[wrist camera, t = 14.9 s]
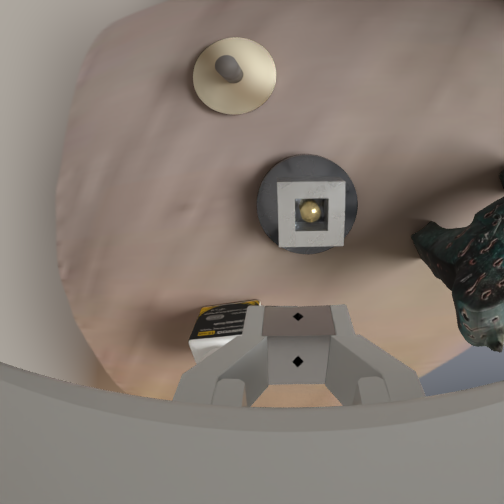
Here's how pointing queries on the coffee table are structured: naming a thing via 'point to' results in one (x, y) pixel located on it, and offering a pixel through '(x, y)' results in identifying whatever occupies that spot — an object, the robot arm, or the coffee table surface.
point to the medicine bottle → (217, 327)
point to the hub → (303, 207)
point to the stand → (234, 76)
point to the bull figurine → (471, 271)
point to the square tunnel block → (311, 232)
